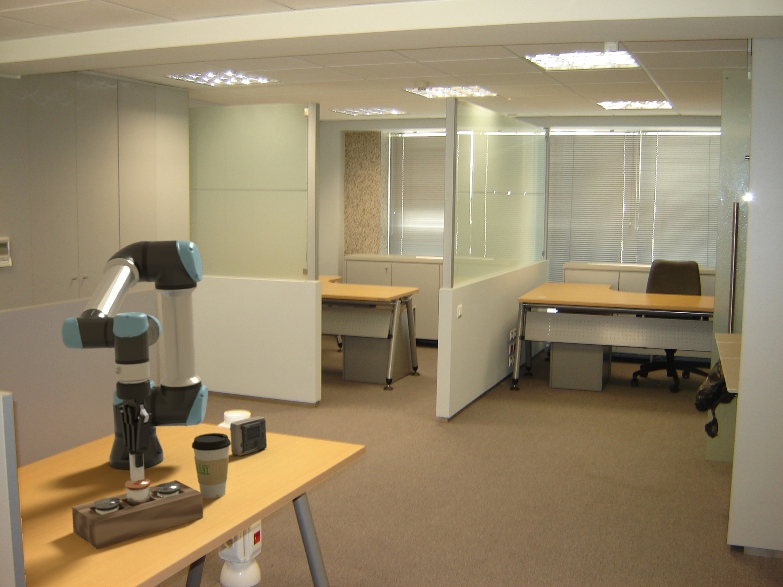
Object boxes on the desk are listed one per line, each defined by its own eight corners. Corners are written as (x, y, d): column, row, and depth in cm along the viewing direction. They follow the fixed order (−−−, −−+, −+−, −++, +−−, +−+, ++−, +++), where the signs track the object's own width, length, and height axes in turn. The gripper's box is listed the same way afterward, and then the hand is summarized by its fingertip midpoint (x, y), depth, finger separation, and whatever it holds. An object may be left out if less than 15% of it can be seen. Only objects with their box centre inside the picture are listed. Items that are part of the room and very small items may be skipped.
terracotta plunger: (122, 510, 189) (120, 481, 189) (144, 504, 193) (143, 476, 192) (132, 516, 185) (131, 487, 184) (155, 510, 189) (154, 482, 188)
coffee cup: (196, 488, 214) (194, 433, 212) (234, 486, 215) (232, 431, 213) (190, 501, 204) (188, 443, 203) (230, 500, 205) (228, 442, 203)
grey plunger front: (91, 530, 185) (89, 501, 184) (115, 524, 188) (113, 495, 188) (101, 537, 180) (100, 508, 180) (125, 530, 184) (124, 502, 184)
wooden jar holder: (73, 532, 186) (72, 506, 185) (176, 503, 203) (175, 480, 202) (96, 549, 176) (95, 522, 175) (203, 517, 193) (202, 493, 193)
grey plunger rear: (152, 513, 195) (151, 486, 194) (174, 507, 198) (172, 480, 198) (163, 519, 191) (162, 492, 190) (185, 513, 194) (184, 486, 194)
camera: (258, 445, 252) (257, 414, 251) (270, 449, 248) (269, 417, 247) (227, 454, 244) (226, 421, 243) (239, 458, 240) (238, 425, 239)
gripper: (105, 378, 188) (110, 476, 191) (130, 386, 179) (134, 490, 181) (135, 373, 193) (140, 469, 196) (161, 381, 184) (165, 482, 186)
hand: (137, 479), depth 188 cm, fingers closed
